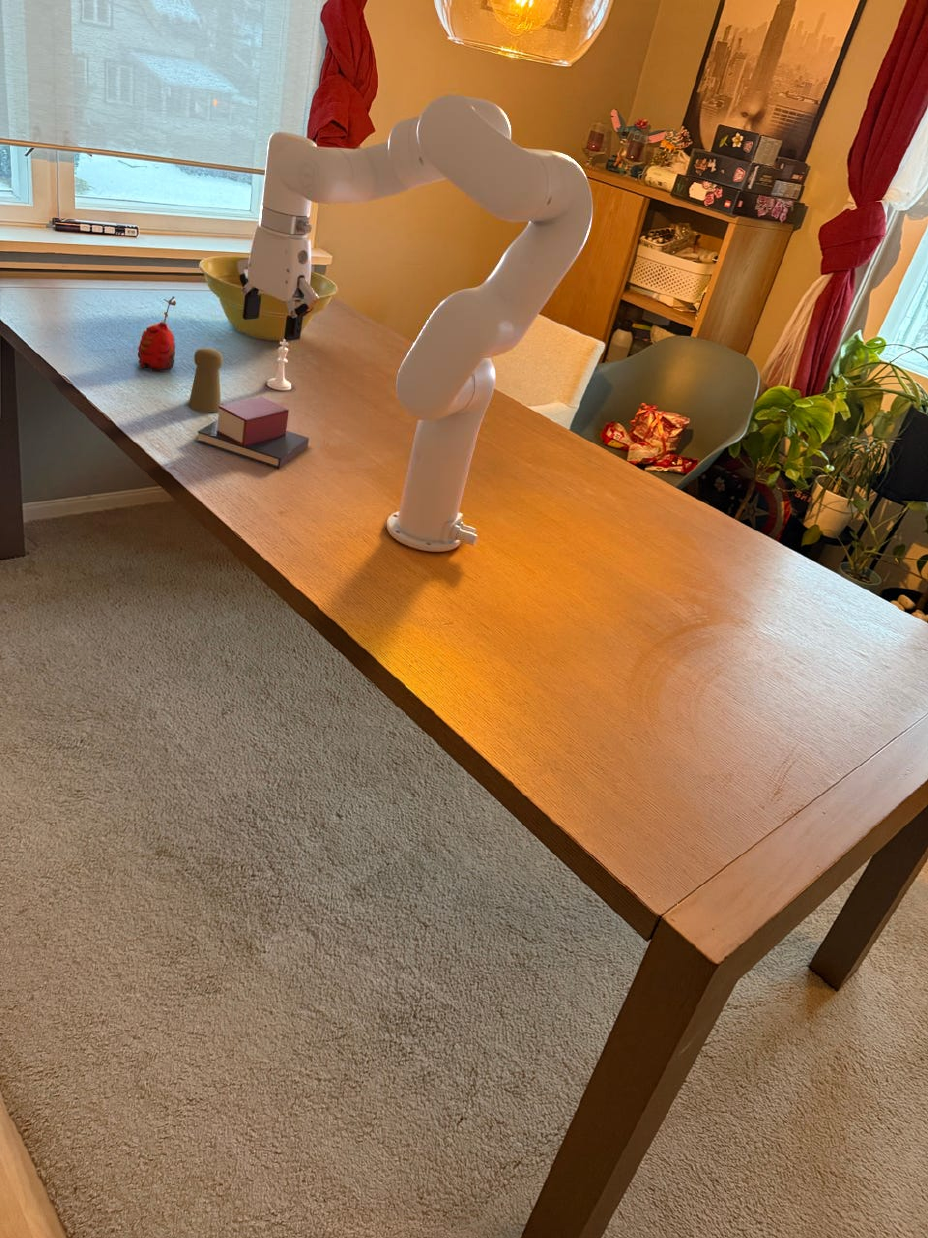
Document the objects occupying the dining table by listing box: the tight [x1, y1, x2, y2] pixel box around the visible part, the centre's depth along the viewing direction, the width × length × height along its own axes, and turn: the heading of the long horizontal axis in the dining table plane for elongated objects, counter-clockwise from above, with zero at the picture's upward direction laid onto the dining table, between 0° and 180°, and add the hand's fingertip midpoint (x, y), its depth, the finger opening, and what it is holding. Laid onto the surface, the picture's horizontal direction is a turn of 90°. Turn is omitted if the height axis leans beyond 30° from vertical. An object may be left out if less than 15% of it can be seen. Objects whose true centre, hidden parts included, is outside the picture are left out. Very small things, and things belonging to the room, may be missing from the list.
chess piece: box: [266, 339, 292, 391], centre depth 190 cm, size 5×5×10 cm
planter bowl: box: [198, 255, 339, 341], centre depth 218 cm, size 32×32×13 cm
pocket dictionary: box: [217, 395, 290, 447], centre depth 163 cm, size 7×10×5 cm, turn 146°
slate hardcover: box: [196, 419, 310, 470], centre depth 165 cm, size 16×12×2 cm
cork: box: [188, 347, 224, 413], centre depth 173 cm, size 6×6×11 cm
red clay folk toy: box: [137, 296, 177, 372], centre depth 183 cm, size 8×7×15 cm
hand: (271, 328), depth 152 cm, fingers open, 9 cm apart
